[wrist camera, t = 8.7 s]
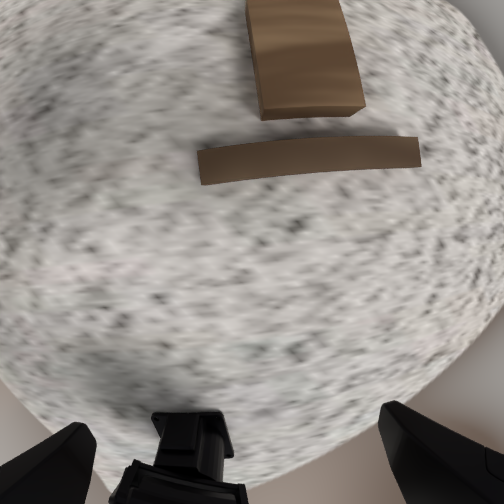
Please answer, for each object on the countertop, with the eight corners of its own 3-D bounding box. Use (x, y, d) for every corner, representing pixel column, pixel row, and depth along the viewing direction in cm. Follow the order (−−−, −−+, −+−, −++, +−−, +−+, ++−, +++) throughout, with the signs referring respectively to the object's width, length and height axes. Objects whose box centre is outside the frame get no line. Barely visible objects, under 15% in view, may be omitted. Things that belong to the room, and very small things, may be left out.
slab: (365, 106, 14) (335, -8, 13) (264, 109, 14) (245, -10, 13) (349, 117, 17) (325, 12, 15) (261, 121, 17) (245, 13, 16)
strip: (406, 168, 18) (421, 167, 16) (206, 185, 18) (201, 184, 16) (403, 140, 18) (417, 137, 16) (202, 154, 18) (197, 150, 16)
